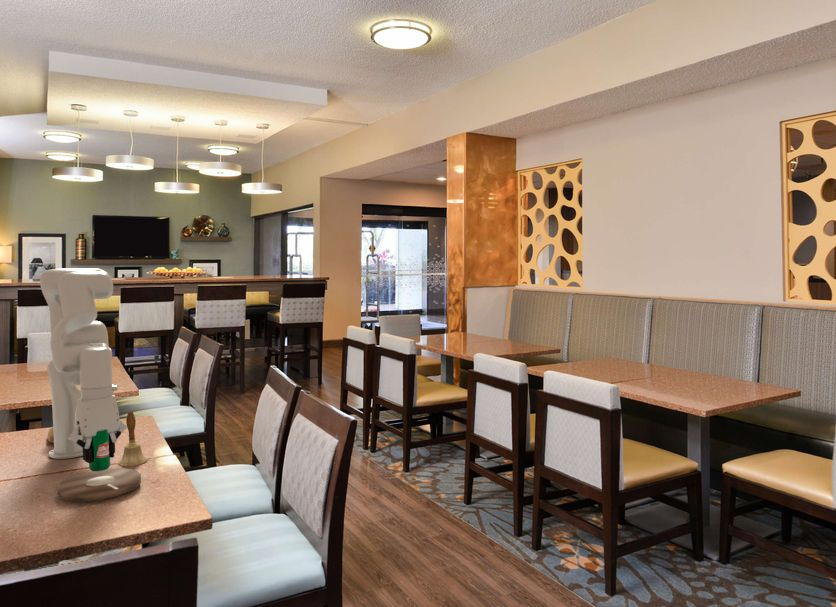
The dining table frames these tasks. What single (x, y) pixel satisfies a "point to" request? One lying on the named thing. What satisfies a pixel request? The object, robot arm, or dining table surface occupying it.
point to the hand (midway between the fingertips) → (99, 458)
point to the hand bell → (132, 446)
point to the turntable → (99, 484)
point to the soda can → (100, 451)
